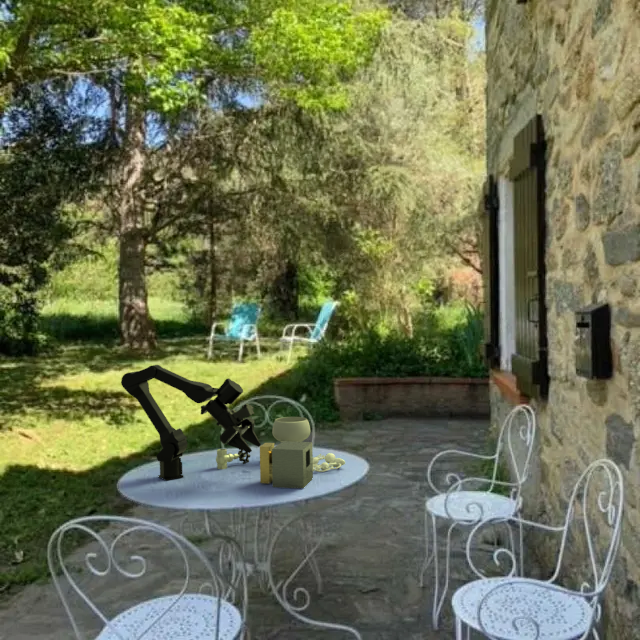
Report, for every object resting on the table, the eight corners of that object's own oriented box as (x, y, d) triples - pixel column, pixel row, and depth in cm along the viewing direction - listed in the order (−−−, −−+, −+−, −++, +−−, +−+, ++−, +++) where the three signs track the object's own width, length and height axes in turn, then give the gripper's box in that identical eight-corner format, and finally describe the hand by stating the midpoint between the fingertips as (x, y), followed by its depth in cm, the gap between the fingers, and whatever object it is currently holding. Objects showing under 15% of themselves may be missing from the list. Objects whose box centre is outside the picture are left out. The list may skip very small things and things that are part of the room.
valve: (222, 471, 233) (250, 465, 241) (221, 452, 233) (250, 446, 241) (212, 467, 238) (240, 462, 246) (211, 449, 238) (239, 444, 246)
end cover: (260, 483, 215) (259, 446, 215) (266, 478, 221) (265, 442, 220) (293, 484, 212) (293, 447, 212) (298, 479, 218) (298, 443, 218)
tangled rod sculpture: (299, 482, 222) (299, 470, 222) (281, 469, 235) (281, 457, 234) (350, 472, 231) (350, 461, 230) (331, 461, 243) (331, 450, 243)
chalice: (307, 464, 240) (306, 422, 240) (269, 464, 242) (268, 422, 242) (313, 456, 254) (313, 416, 254) (277, 455, 256) (276, 416, 256)
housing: (272, 487, 211) (271, 449, 211) (283, 477, 222) (282, 441, 222) (303, 488, 208) (302, 450, 208) (313, 478, 220) (312, 442, 220)
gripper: (228, 401, 210) (262, 437, 208) (248, 393, 228) (280, 426, 226) (205, 425, 212) (239, 461, 210) (226, 416, 230) (258, 449, 228)
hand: (255, 448), depth 218 cm, fingers open, 9 cm apart
